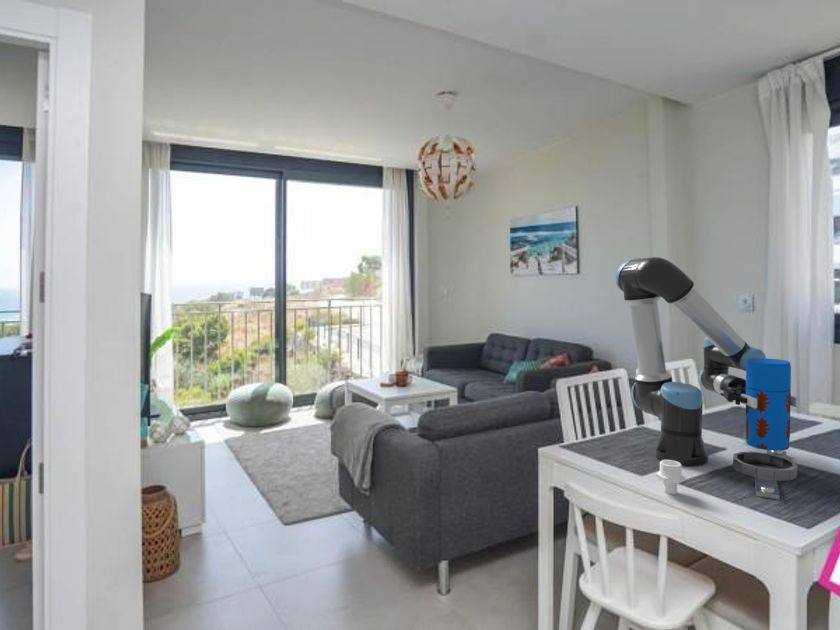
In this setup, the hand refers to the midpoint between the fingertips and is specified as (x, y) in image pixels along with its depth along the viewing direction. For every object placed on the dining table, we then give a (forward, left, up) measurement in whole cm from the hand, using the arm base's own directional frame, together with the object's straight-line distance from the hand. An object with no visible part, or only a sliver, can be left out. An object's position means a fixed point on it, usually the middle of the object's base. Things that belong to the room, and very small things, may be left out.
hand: (776, 403), depth 144 cm
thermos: (-2, +4, -14) cm, 14 cm away
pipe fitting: (-25, -27, -21) cm, 42 cm away
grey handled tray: (-3, +2, -21) cm, 21 cm away
